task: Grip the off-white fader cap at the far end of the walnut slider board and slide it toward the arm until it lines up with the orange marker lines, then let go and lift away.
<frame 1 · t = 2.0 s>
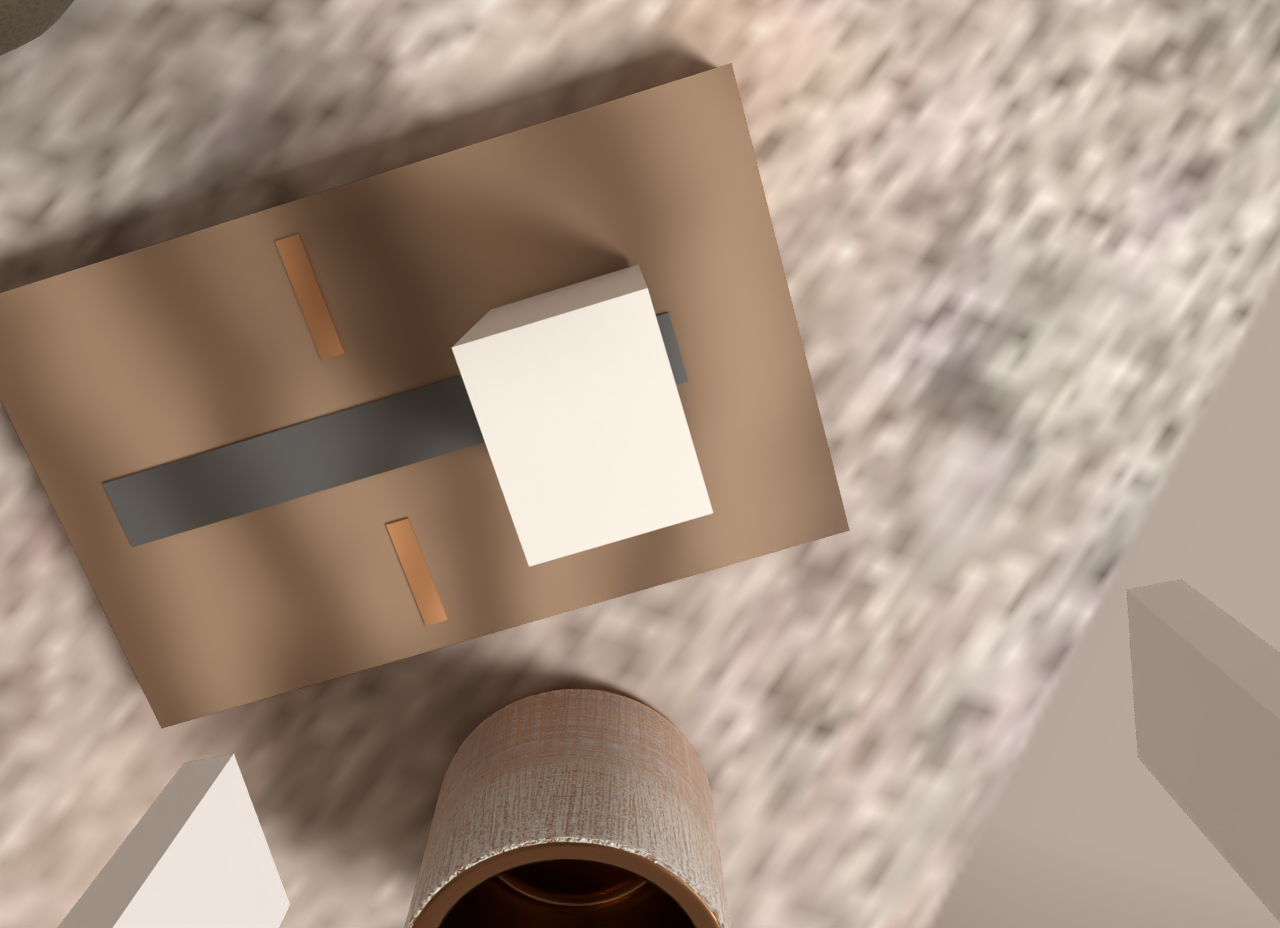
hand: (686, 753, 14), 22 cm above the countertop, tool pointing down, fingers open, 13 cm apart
fader board: (433, 409, 35), on the countertop
planter: (577, 797, 40), on the countertop
fader cap: (589, 399, 28), point 7 cm above the countertop, slide at 14.0 cm
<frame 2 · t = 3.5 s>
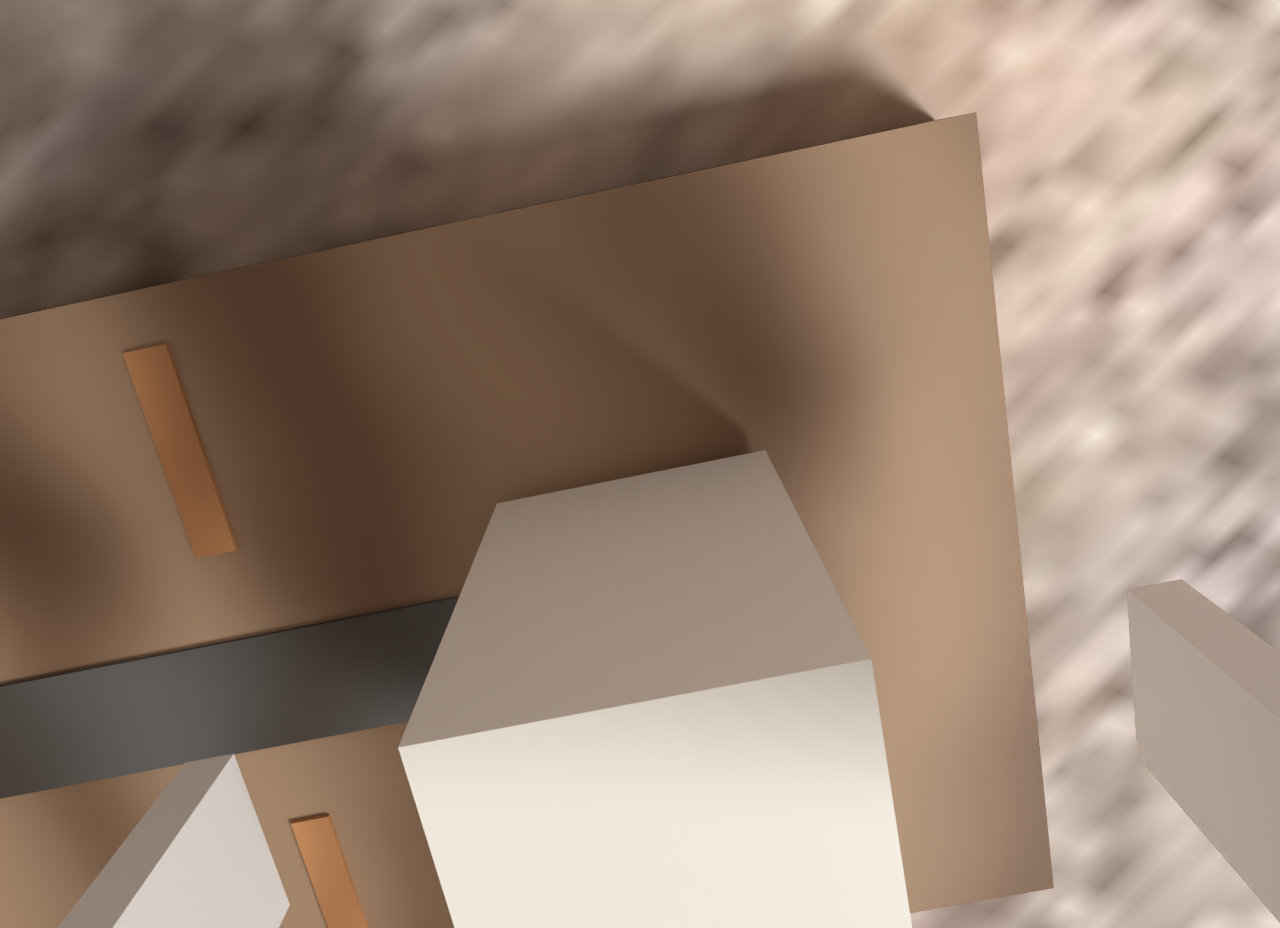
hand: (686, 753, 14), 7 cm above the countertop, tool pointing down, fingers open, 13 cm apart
fader board: (390, 623, 21), on the countertop
fader cap: (671, 739, 15), point 7 cm above the countertop, slide at 14.0 cm
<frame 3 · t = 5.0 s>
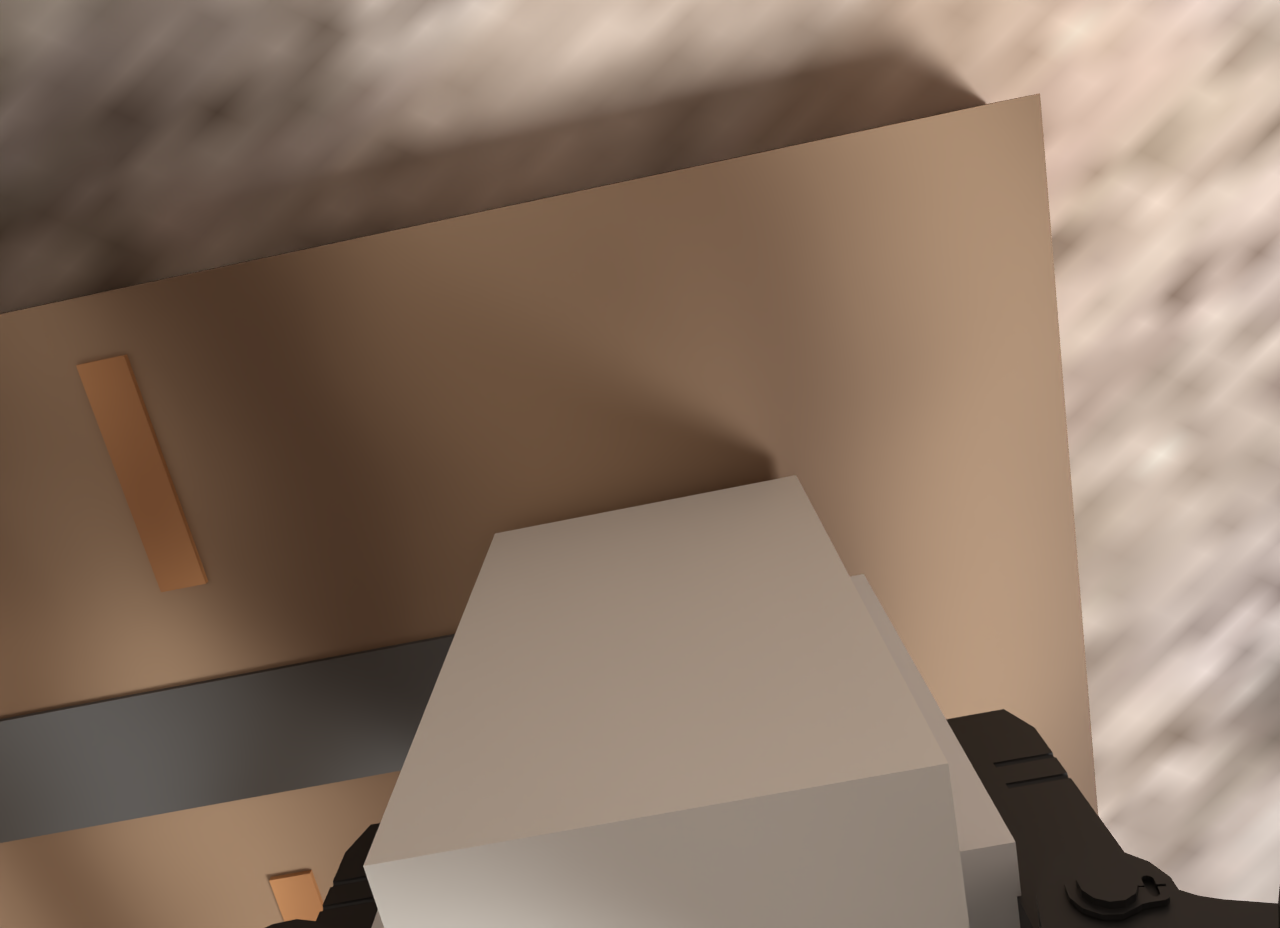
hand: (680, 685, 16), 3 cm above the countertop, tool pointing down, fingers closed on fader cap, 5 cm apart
fader board: (379, 657, 19), on the countertop
fader cap: (691, 814, 13), point 7 cm above the countertop, slide at 14.0 cm, touching gripper
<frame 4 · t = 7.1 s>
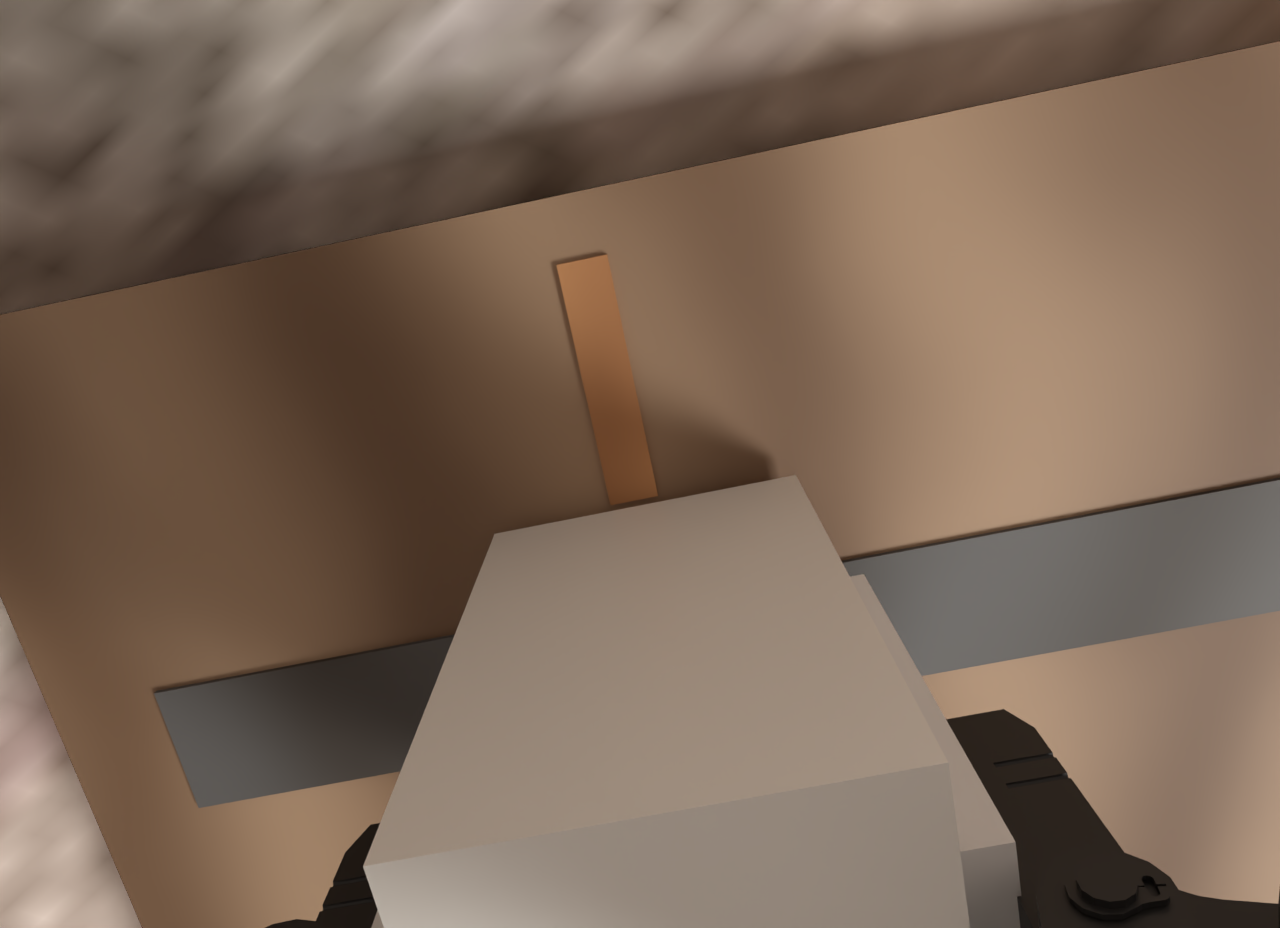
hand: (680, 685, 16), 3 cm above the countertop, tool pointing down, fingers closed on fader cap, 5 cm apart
fader board: (765, 585, 19), on the countertop
fader cap: (691, 814, 13), point 7 cm above the countertop, slide at 6.2 cm, touching gripper
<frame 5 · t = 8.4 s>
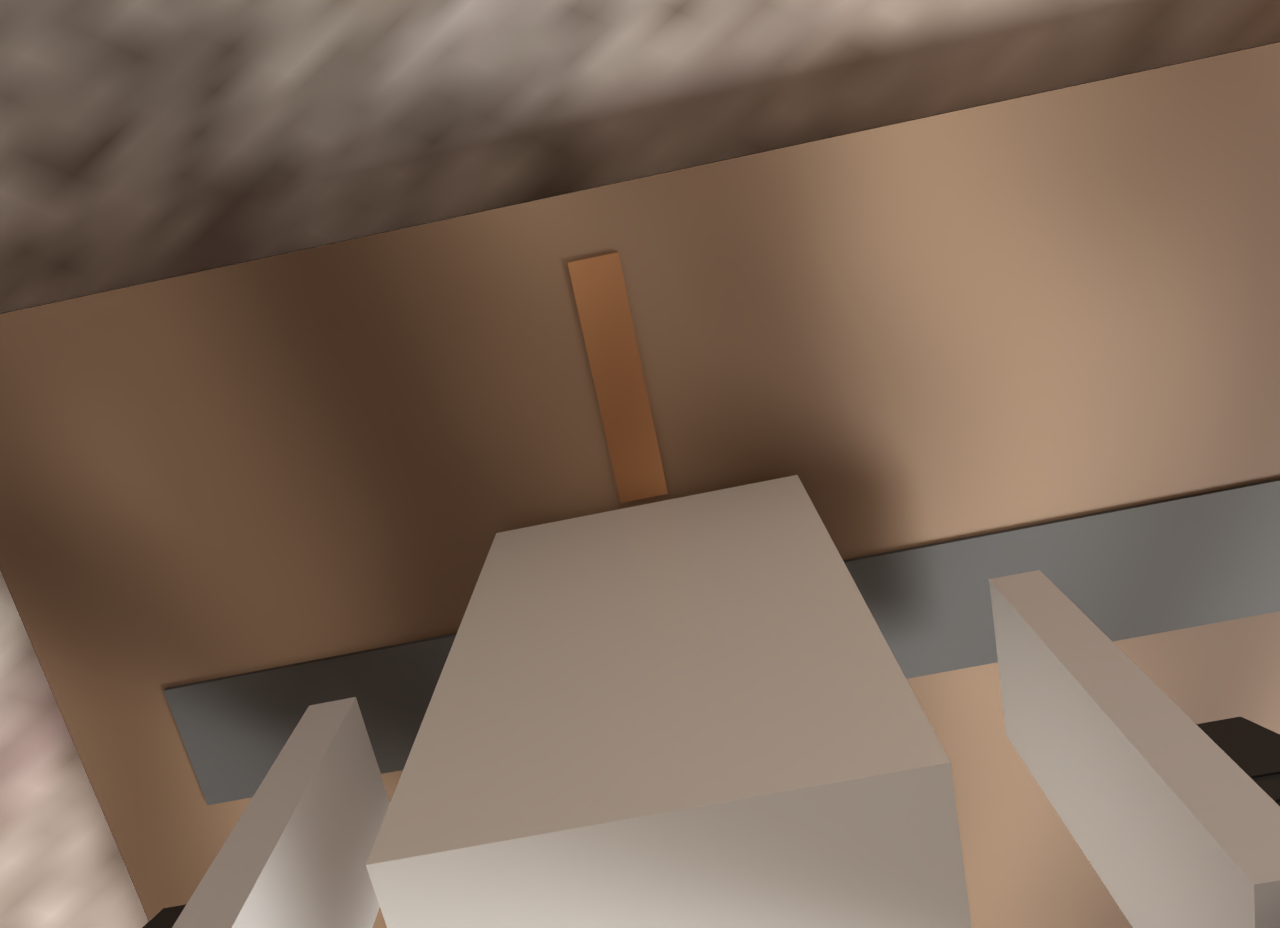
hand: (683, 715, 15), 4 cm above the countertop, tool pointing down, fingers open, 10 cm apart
fader board: (773, 583, 19), on the countertop
fader cap: (693, 813, 13), point 7 cm above the countertop, slide at 6.0 cm
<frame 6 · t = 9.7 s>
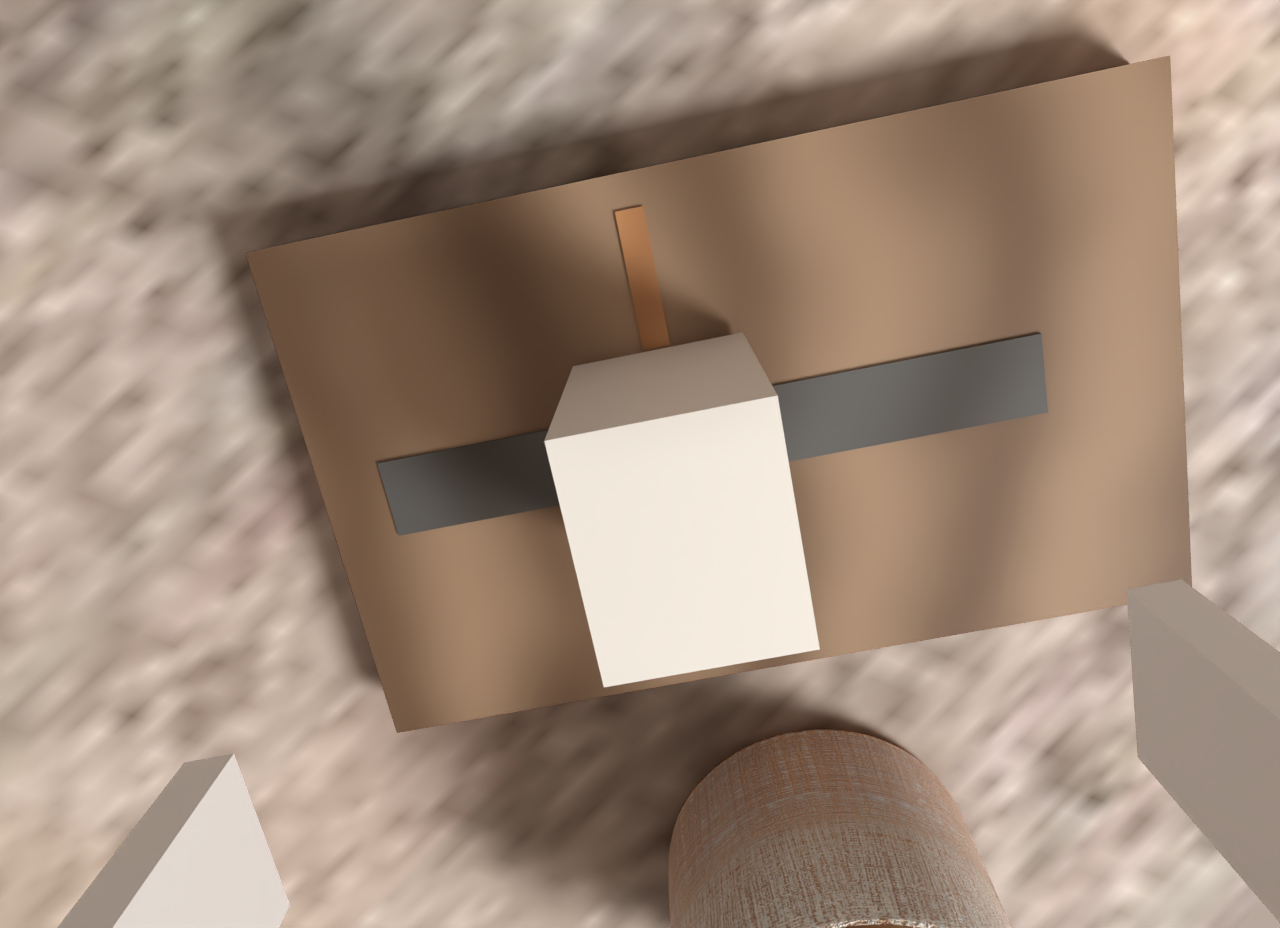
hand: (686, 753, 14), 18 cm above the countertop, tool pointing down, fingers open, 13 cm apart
fader board: (735, 413, 31), on the countertop
planter: (812, 843, 36), on the countertop
fader cap: (681, 490, 25), point 7 cm above the countertop, slide at 6.0 cm
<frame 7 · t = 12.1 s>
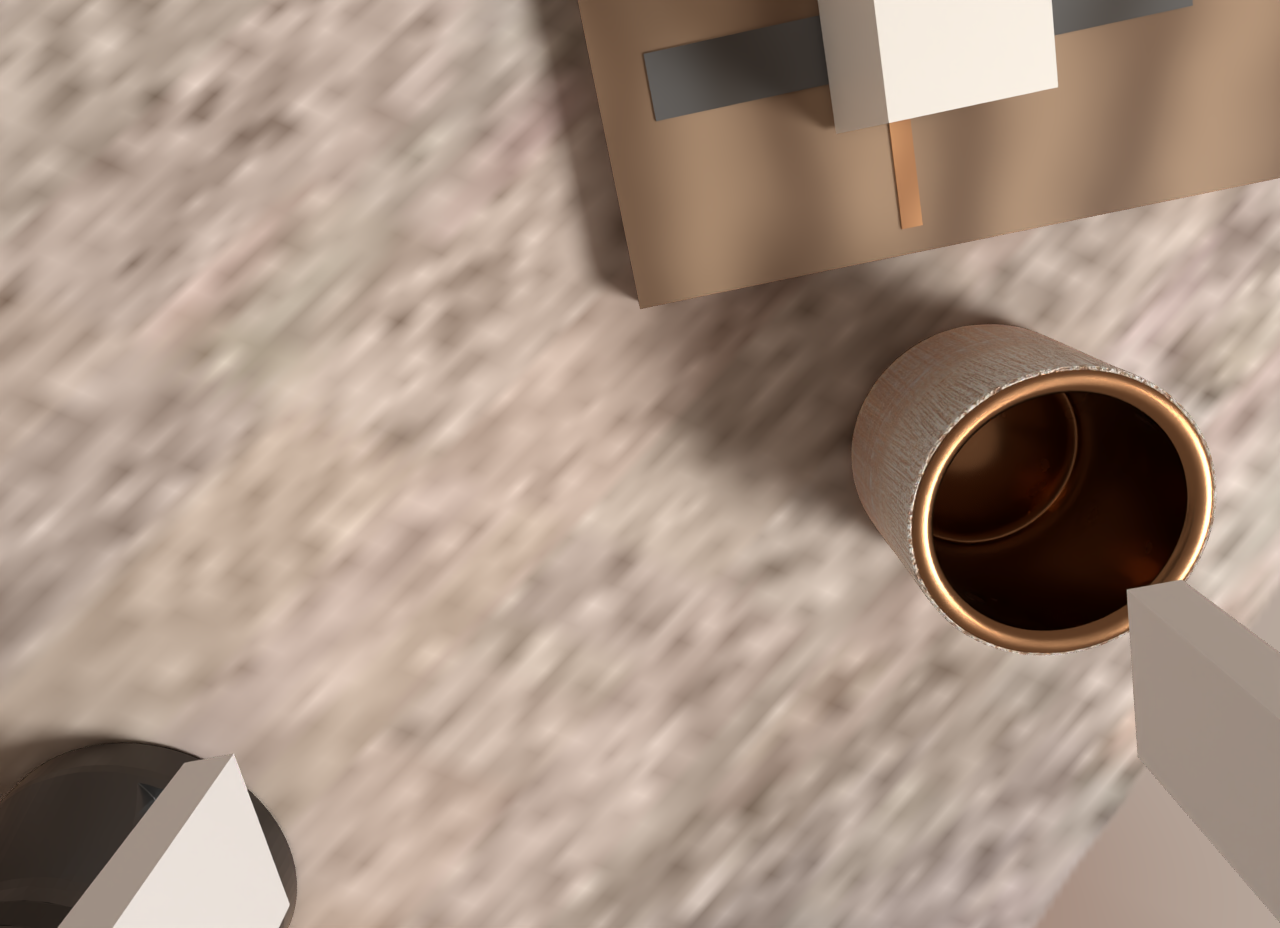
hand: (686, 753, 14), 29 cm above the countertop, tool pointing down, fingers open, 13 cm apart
fader board: (925, 32, 38), on the countertop
planter: (969, 442, 43), on the countertop
fader cap: (922, 17, 32), point 7 cm above the countertop, slide at 6.0 cm
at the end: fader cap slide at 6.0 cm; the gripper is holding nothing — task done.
